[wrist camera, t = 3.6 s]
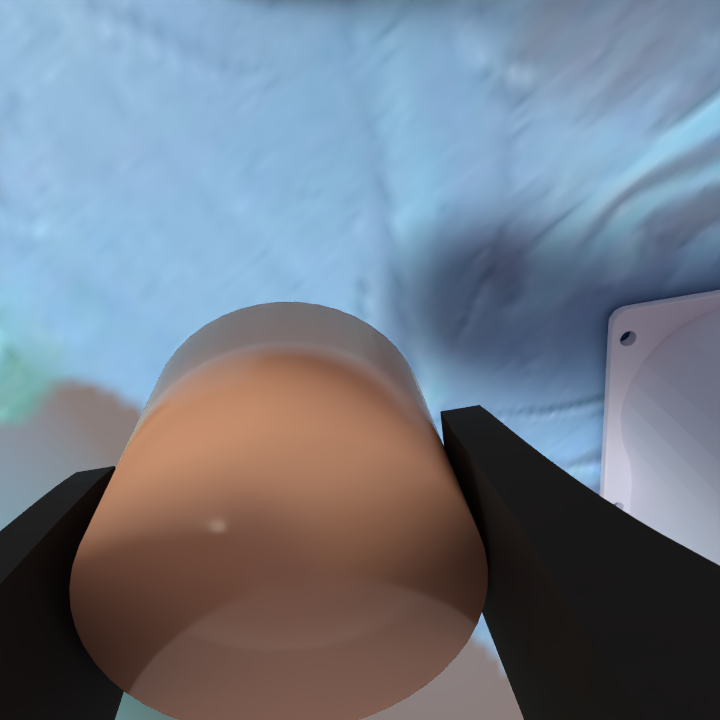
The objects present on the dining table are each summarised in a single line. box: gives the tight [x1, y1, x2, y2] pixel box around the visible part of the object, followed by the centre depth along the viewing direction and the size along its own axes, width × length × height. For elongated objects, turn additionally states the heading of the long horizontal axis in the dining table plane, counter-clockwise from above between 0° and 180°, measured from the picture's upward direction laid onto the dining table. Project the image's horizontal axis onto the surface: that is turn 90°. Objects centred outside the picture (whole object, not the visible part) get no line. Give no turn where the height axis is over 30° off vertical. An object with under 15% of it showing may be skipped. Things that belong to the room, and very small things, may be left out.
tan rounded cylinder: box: [69, 302, 488, 720], centre depth 9 cm, size 5×5×4 cm
